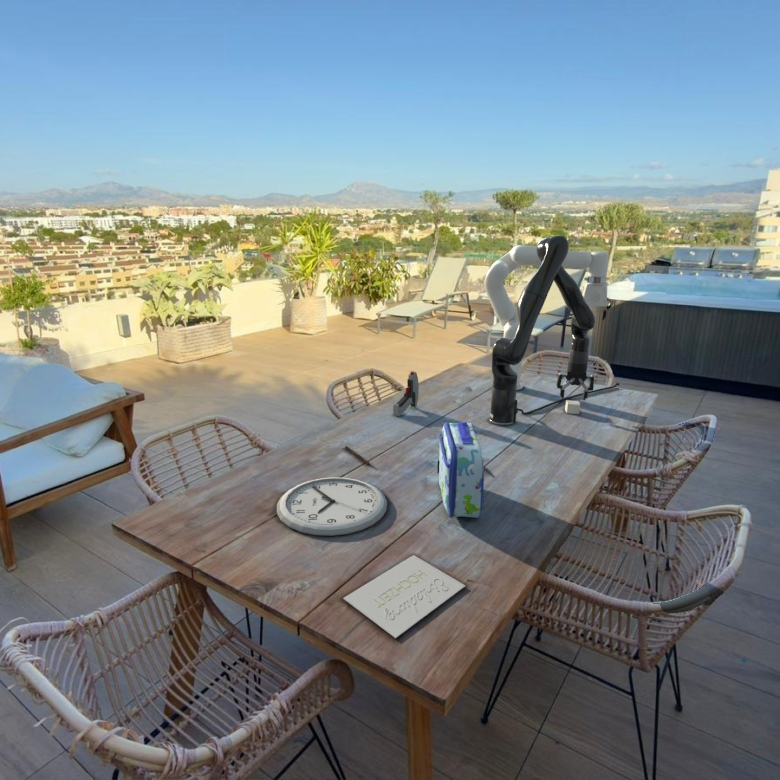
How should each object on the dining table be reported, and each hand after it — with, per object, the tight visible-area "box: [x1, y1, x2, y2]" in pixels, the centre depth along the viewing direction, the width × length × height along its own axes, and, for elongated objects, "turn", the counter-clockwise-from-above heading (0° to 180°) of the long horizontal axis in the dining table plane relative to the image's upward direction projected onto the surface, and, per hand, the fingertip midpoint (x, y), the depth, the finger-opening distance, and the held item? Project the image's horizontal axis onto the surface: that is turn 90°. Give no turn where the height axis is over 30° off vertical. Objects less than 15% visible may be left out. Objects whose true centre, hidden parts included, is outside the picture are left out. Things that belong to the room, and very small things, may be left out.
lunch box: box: [436, 421, 485, 519], centre depth 143 cm, size 26×11×21 cm, turn 179°
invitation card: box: [343, 554, 466, 639], centre depth 109 cm, size 21×1×15 cm
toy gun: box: [392, 370, 420, 417], centre depth 214 cm, size 2×16×15 cm
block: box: [564, 399, 581, 415], centre depth 219 cm, size 5×5×4 cm
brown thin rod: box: [344, 445, 370, 465], centre depth 173 cm, size 15×1×1 cm, turn 34°
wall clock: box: [276, 476, 388, 537], centre depth 142 cm, size 30×2×30 cm
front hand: (573, 398), depth 217 cm, fingers open, 8 cm apart
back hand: (591, 319), depth 236 cm, fingers open, 9 cm apart
